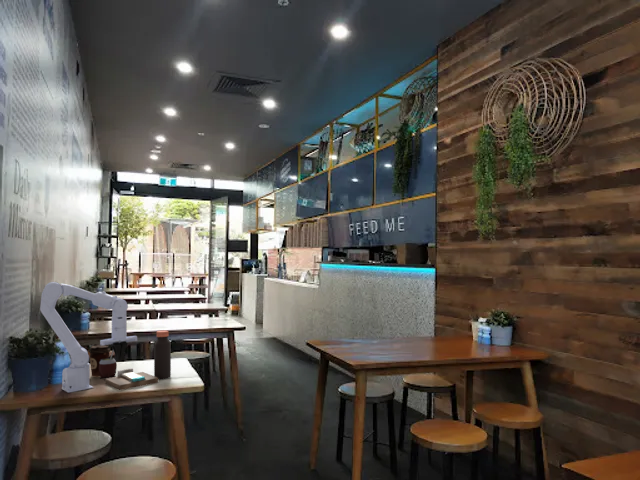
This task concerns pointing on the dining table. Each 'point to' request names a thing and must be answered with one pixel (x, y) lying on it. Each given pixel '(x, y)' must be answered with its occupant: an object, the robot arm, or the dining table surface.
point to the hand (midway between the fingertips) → (118, 360)
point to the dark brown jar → (97, 358)
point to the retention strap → (133, 376)
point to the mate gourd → (107, 367)
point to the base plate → (126, 383)
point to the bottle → (162, 355)
